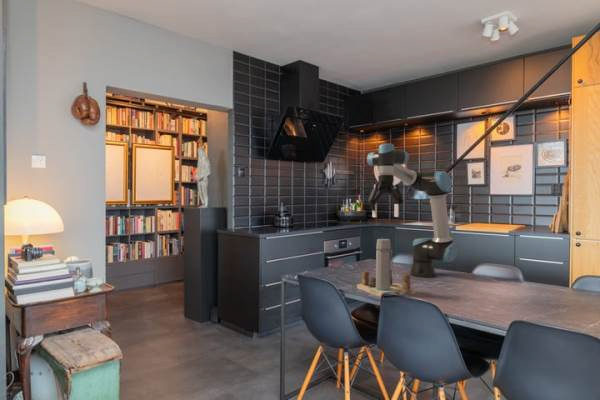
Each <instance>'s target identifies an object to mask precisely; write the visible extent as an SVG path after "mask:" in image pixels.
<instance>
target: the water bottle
mask: <svg viewBox="0 0 600 400" xmlns="http://www.w3.org/2000/svg"><path fill="white" fill-rule="evenodd" d="M375 246H376V247H375V249H376V251H375V252H376V255H375V258H376V259H375V263H376V264H375V278H376V288H377V289H379V290H389V289H390V279H391V270H392V279H391V280H392V281H395V270H394V268H391V266H394V260H393V259H394V258H393V249H391V240H390V239H389V238H377V240H376V245H375Z"/></svg>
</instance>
